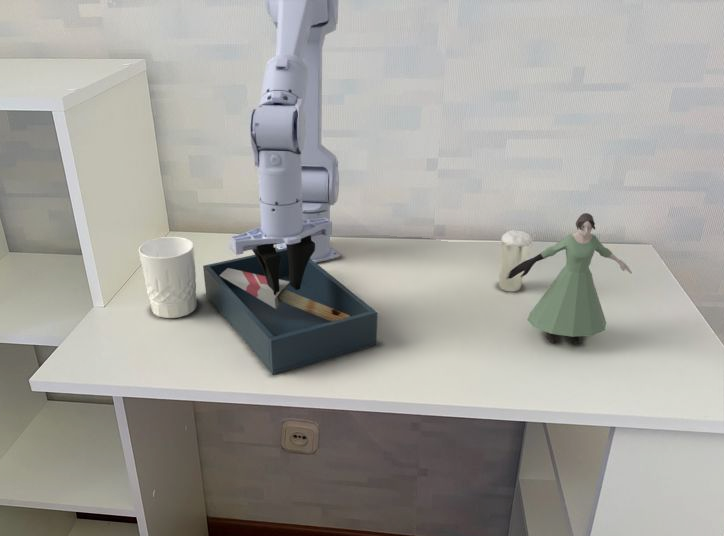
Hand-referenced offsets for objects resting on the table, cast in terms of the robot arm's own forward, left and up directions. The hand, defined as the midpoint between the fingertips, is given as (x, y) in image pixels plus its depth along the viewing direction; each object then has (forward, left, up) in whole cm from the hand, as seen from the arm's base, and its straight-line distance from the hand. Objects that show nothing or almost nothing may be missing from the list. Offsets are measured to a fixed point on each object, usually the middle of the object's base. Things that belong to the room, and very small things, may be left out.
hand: (284, 289), depth 101 cm
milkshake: (+8, +35, -5) cm, 37 cm away
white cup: (-11, -14, -5) cm, 18 cm away
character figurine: (+23, +30, -5) cm, 39 cm away
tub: (0, 0, -5) cm, 5 cm away
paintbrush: (0, 0, -2) cm, 2 cm away
